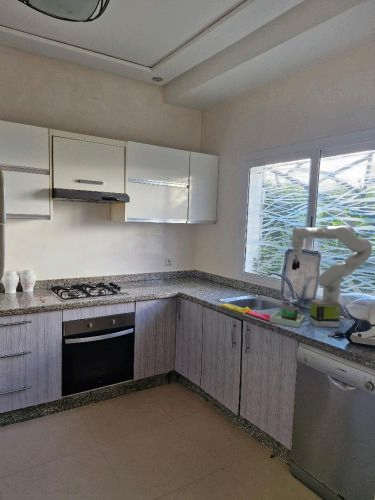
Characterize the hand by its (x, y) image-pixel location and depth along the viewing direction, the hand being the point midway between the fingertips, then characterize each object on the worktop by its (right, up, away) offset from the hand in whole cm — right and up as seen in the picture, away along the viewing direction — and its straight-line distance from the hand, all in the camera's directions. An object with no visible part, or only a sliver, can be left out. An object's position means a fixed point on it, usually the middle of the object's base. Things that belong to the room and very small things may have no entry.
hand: (295, 269), depth 248 cm
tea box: (+9, -34, -28) cm, 45 cm away
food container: (-14, -32, -26) cm, 43 cm away
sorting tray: (-13, -32, -25) cm, 43 cm away
